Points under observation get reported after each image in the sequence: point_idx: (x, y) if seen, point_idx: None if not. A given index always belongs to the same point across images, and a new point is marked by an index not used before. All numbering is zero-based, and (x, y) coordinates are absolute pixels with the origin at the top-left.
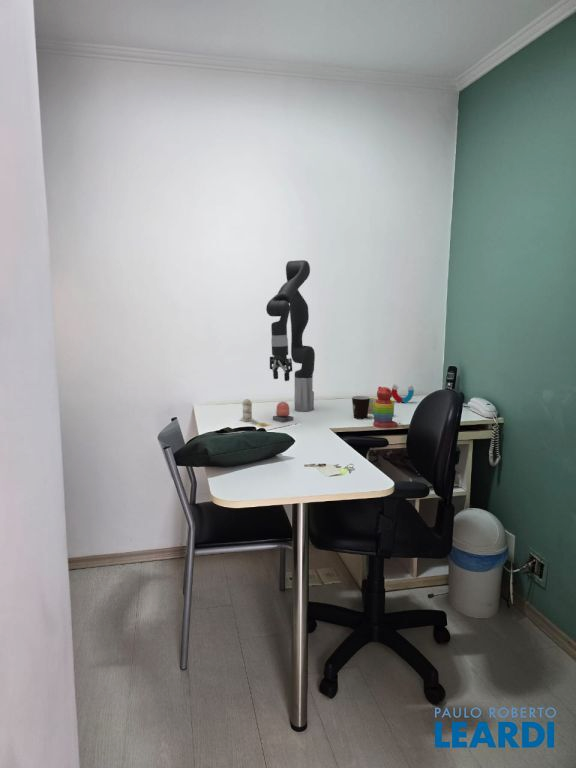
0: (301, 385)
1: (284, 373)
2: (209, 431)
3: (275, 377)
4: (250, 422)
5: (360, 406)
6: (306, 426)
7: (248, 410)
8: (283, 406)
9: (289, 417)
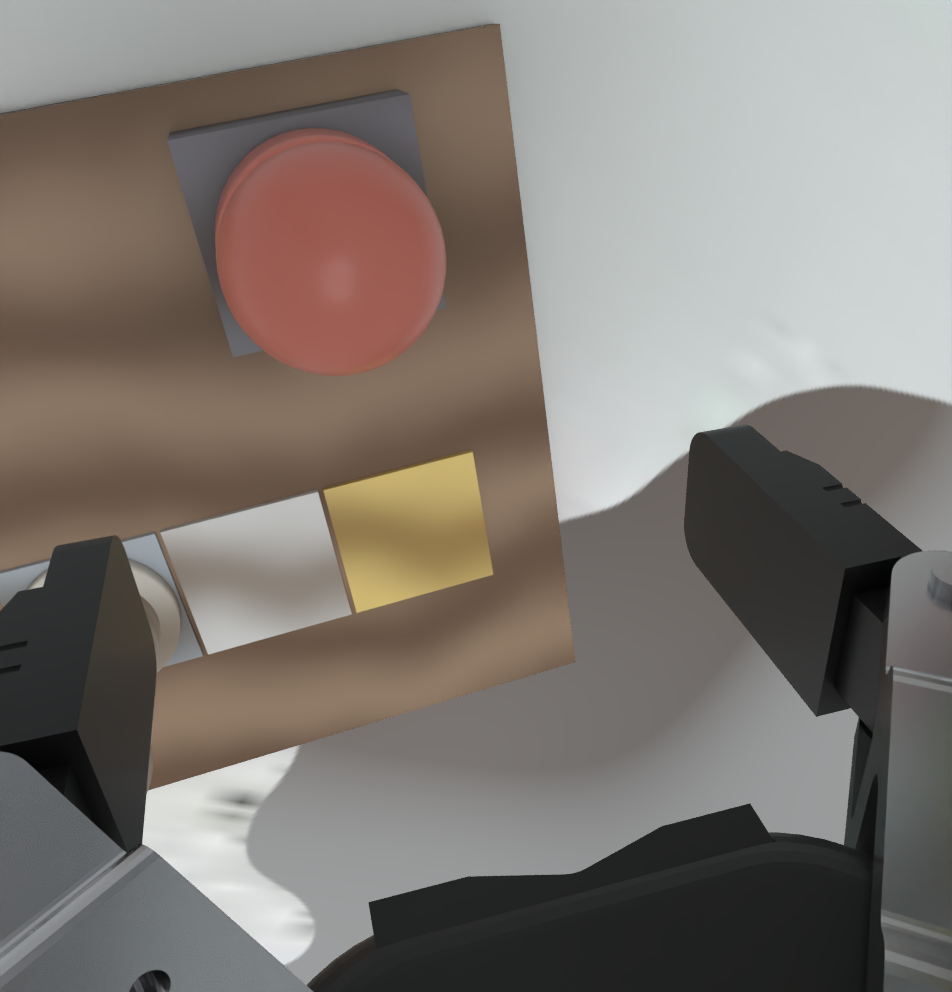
0: None
1: (820, 702)
2: (305, 938)
3: (141, 652)
4: (231, 619)
5: None
6: (669, 50)
7: (153, 709)
8: (433, 315)
9: (423, 175)
